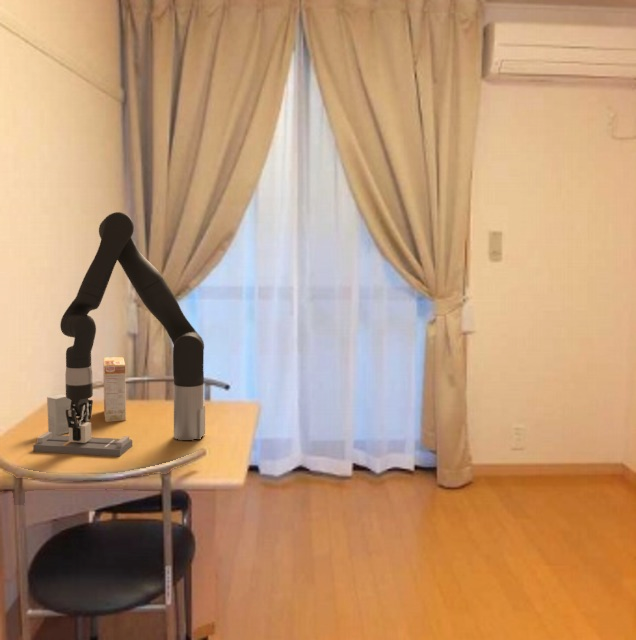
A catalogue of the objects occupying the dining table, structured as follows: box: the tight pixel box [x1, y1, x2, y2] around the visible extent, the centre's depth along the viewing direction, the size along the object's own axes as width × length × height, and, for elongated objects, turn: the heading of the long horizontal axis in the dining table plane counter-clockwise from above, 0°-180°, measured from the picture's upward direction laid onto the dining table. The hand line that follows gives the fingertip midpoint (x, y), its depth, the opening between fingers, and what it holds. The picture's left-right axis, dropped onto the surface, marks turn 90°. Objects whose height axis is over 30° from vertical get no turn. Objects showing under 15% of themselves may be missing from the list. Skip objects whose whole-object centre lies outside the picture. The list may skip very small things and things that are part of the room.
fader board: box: [32, 431, 133, 457], centre depth 209 cm, size 26×10×4 cm, turn 85°
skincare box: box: [46, 393, 71, 436], centre depth 224 cm, size 6×4×12 cm
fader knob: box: [68, 422, 92, 443], centre depth 209 cm, size 5×4×5 cm
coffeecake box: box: [103, 356, 127, 423], centre depth 245 cm, size 15×7×20 cm, turn 18°
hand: (80, 437), depth 209 cm, fingers closed on fader knob, 4 cm apart
